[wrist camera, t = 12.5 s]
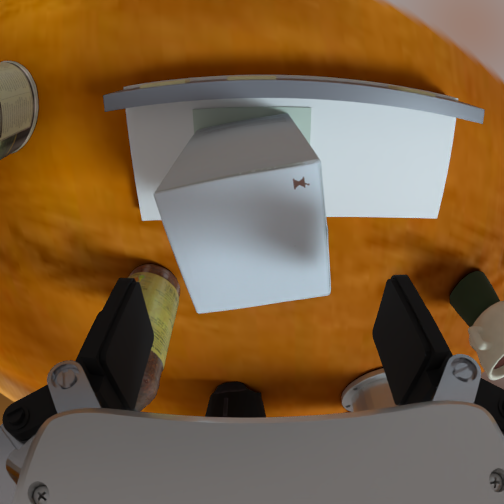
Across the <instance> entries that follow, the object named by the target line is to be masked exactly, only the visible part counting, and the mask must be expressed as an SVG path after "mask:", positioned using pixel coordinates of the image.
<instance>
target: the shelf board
mask: <svg viewBox="0 0 504 504" xmlns="http://www.w3.org/2000/svg"><path fill="white" fill-rule="evenodd" d="M229 76H276V78H298V79H318V80H332V81H343V82H353V83H362V84H370V85H378V86H385V87H388V85H392V84H385V83H378V82H371V81H363V80H354V79H344V78H333V77H320V76H302V75H226V76H208V77H195V78H183V79H174V80H184V79H190V81H197V80H211V79H227V77H229ZM174 80H165V81H174ZM165 81H157V82H165ZM157 82H149V83H157ZM149 83H142V84H136V85H130V86H126V87H124V89H130V88H136V87H140V86H141V85H145V84H149ZM392 86H398V85H392ZM398 87H404V86H398ZM404 88H409V87H404ZM409 89H415V88H409ZM415 90H420V89H415ZM420 91H425V90H420ZM425 92H428V93H432V94H436V96H440V97H444V98H449V99H453V100H457V101H458V98H454V97H451V96H447V95H443V94H439V93H434V92H430V91H425ZM284 113H288V114H289V116H290V117H291V118H292V120H293V121H294V123H295V124H296V125H297V127H298V128H299V129H300V131H301V132H302V134H303V135H304V137H305V138H306V140H307V141H308V143H309V144H310V145H311V147H312V148H313V150H314V151H315V153H316V154H317V156H318V157H319V159H320V161H321V166H322V177H323V187H324V198H325V210H326V217H400V218H437V217H438V213H439V208H440V204H441V200H442V196H443V191H444V186H445V182H446V177H447V172H448V167H449V161H450V155H451V150H452V143H453V137H454V130H455V122H456V117H451V116H446V115H441V114H436V113H431V112H425V111H419V110H413V109H407V108H400V107H393V106H386V105H378V104H369V103H359V102H349V101H336V100H321V99H299V98H233V99H211V100H196V101H184V102H173V103H163V104H154V105H146V106H139V107H132V108H126V118H127V126H128V134H129V142H130V150H131V157H132V164H133V170H134V177H135V183H136V189H137V195H138V201H139V206H140V212H141V217H142V221H145V220H162V219H161V216H160V213H159V210H158V207H157V204H156V201H155V198H154V193H155V191H156V190H157V188H158V187H159V185H160V184H161V182H162V180H163V179H164V177H165V176H166V174H167V173H168V171H169V170H170V168H171V167H172V165H173V164H174V162H175V161H176V159H177V158H178V156H179V155H180V153H181V152H182V151H183V149H184V148H185V146H186V145H187V143H188V142H189V140H190V139H191V137H192V136H193V135H194V133H195V132H196V131H197V130H198V129H202V128H206V127H211V126H216V125H221V124H226V123H231V122H236V121H242V120H247V119H253V118H259V117H265V116H271V115H278V114H284Z"/></svg>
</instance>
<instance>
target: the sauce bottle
mask: <svg viewBox="0 0 504 504" xmlns="http://www.w3.org/2000/svg"><path fill="white" fill-rule="evenodd" d="M128 278H134V279H135V280H136V282H139V283H140V285H141V289H142V293H143V297H144V300H145V304H146V308H147V311H148V315H149V318H150V322H151V325H152V328H153V332H154V341H153V345H152V348H151V351H150V355H149V358H148V362H147V365H146V369H145V372H144V376H143V379H142V383H141V387H140V390H139V394H138V398H137V402H136V405H135V408H134V410H130V411H138V412H140V411H141V410H142V409H143V408H145V407H146V406H147V405H148V404H150V402H151V401H152V400H153V399H154V398H155V396H156V394H157V390H158V388H159V380H160V377H161V372H162V371H163V369H164V365H165V360H166V355H167V351H168V346H169V342H170V338H171V333H172V329H173V325H174V321H175V316H176V312H177V308H178V303H179V296H180V286H179V284H178V282H177V279H176V277H175V276H174V275H173V274H172V273H171V272H170V271H169V270H167V269H165V268H164V267H160V266H158V265H154V264H145V265H141V266H139V267H137V268H136V269H135V270H133V271H132V273H130V276H129V277H128Z"/></svg>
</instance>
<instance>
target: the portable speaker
mask: <svg viewBox="0 0 504 504" xmlns="http://www.w3.org/2000/svg"><path fill="white" fill-rule="evenodd" d="M205 417H230V418H266V415H265V410H264V405H263V401H262V398H261V393H259V392H257V393H256V392H254V391H252V390H250V389H248V388H246V386H245V385H244V384H243V383H240V382H230V383H224V384H221V385H219V386H218V387H217V389H216V391H215V392H214V393H213V394H212V395H211V396H210V400H209V404H208V407H207V411H206V415H205Z"/></svg>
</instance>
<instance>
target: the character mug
mask: <svg viewBox="0 0 504 504" xmlns="http://www.w3.org/2000/svg"><path fill="white" fill-rule="evenodd" d="M450 304H451V305H452V306H453V308H454V309H455V310H456V311H457V313H458V314H459V315H460V316H461V317H462V319H463V320H464V321H465V322H466V323H467V324H468V325H469V329H468V332H469V335H470V336H469V342H470V345H471V346H472V348H473V349H474V350H475V351H476V352H477V354H478V357H479V361H480V363H481V365H482V367H483V368H484V370H485V372H486V374H487V376H488V378H489V379H491V380H497V379H500V378H502V377H504V301H500V300H499V298H498V296H497V294H496V292H495V291H494V289H493V287H492V285H491V284H490V282H489V280H488V279H487V277H486V276H485V274H484V273H483V272H480V271H475V272H472V273H470V274H468V275H467V276H466V277H465V278H463V279H462V280H461V281H460V282H459V284H458V285H457V286H456V287H455V288H454V290H453V291H452V293H451V295H450Z"/></svg>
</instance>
